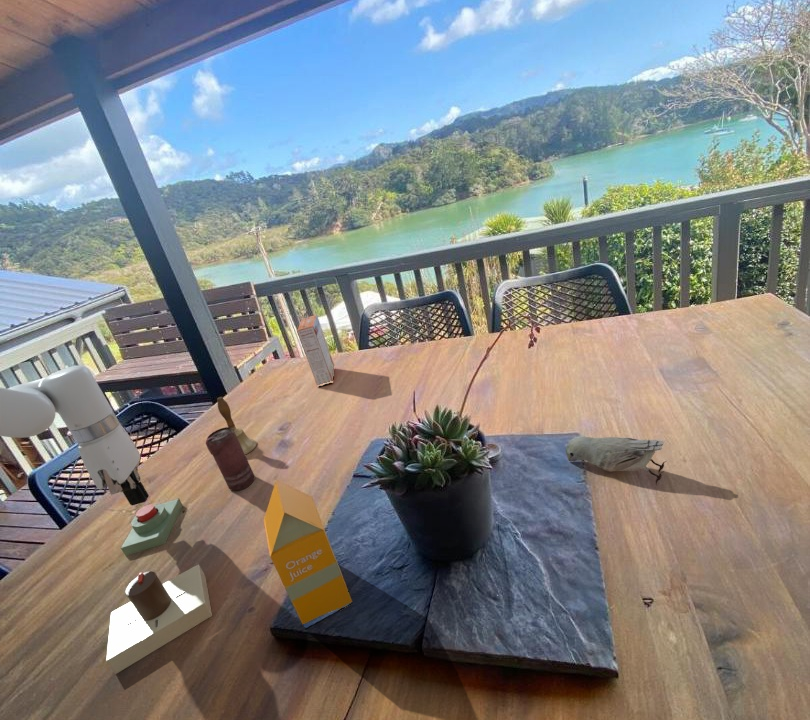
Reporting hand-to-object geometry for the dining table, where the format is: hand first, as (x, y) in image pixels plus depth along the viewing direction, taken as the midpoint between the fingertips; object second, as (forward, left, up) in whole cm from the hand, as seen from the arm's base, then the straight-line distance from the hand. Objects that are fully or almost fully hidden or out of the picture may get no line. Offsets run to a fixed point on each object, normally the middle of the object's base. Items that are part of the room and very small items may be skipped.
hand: (140, 501), depth 91 cm
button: (0, 0, -4) cm, 4 cm away
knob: (+1, -28, -5) cm, 28 cm away
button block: (0, 0, -8) cm, 8 cm away
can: (+19, +1, -8) cm, 20 cm away
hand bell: (+22, +18, -8) cm, 29 cm away
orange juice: (+24, -42, -8) cm, 49 cm away
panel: (+1, -28, -8) cm, 29 cm away
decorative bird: (+76, -55, -8) cm, 94 cm away
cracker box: (+56, +41, -8) cm, 70 cm away
